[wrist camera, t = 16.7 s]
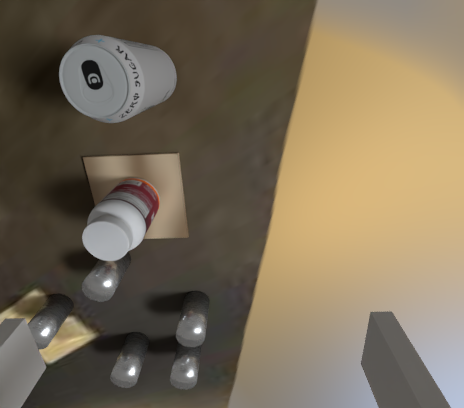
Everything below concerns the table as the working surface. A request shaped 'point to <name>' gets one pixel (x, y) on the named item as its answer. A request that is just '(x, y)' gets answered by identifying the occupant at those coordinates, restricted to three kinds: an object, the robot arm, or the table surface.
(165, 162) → the coaster
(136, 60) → the energy drink can
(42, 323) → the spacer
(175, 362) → the grey cylinder
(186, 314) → the cylinder
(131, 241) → the pill bottle
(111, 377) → the cylinder
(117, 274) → the cylinder
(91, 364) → the table surface
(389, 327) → the robot arm
